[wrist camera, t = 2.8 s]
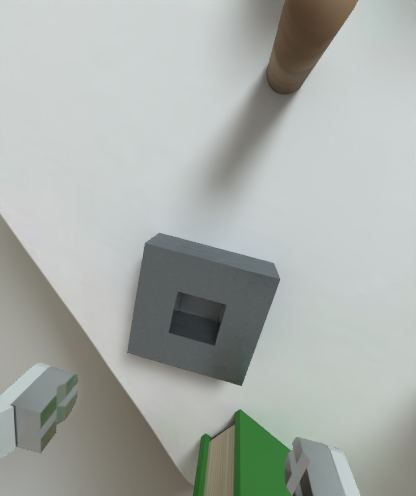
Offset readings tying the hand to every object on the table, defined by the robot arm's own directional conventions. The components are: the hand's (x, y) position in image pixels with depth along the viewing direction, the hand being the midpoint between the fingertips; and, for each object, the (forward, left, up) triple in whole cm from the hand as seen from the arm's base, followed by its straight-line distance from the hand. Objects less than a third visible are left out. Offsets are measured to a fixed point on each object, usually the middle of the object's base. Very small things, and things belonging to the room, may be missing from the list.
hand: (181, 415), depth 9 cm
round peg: (-1, -17, -17) cm, 24 cm away
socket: (+1, +5, -17) cm, 17 cm away
